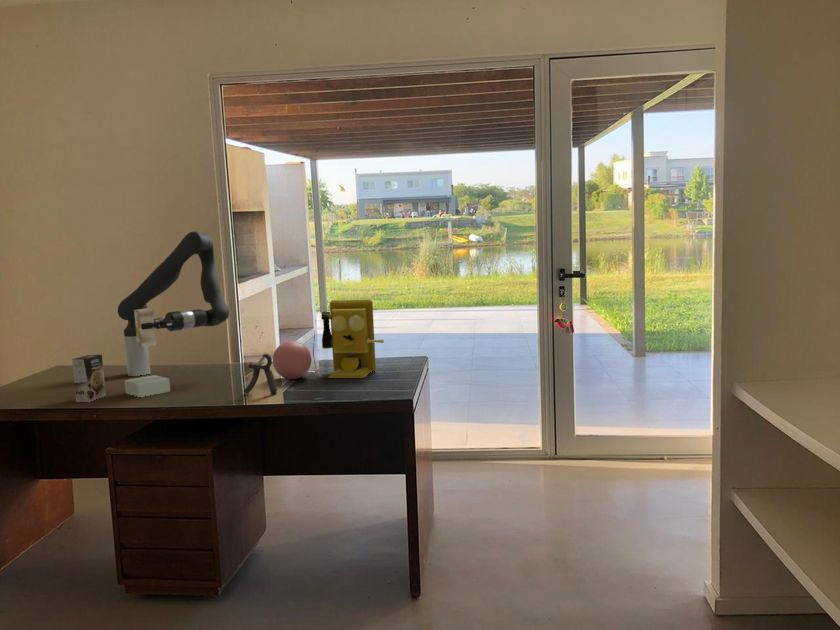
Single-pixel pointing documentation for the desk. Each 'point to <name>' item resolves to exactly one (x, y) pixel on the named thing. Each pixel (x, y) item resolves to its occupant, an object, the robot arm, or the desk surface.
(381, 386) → the desk surface
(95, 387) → the coffee box
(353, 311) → the vintage telephone
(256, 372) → the hand grip strengthener
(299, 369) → the balloon
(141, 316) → the ash pillar
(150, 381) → the base block
